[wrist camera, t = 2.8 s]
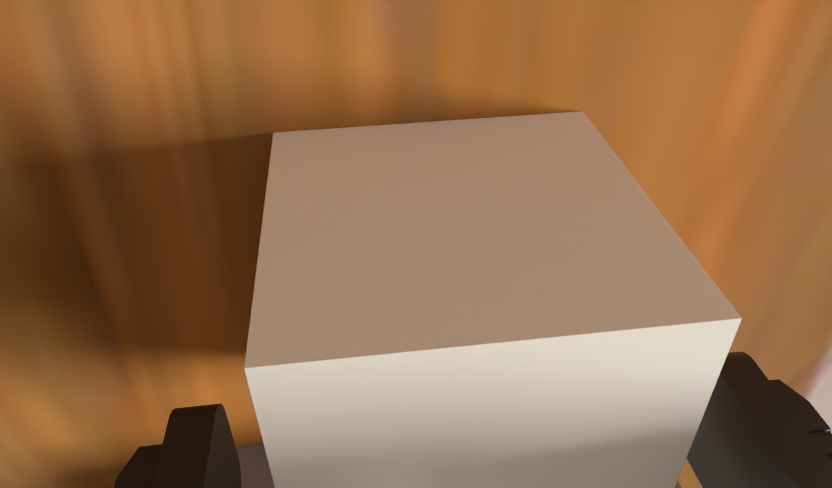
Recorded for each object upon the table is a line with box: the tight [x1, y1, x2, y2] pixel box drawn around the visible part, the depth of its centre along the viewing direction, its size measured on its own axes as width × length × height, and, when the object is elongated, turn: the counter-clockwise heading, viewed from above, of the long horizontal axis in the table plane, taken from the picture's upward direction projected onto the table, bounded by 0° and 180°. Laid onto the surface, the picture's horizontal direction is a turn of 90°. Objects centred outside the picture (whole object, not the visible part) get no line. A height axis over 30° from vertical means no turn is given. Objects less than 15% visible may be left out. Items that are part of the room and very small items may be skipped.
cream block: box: [244, 111, 742, 488], centre depth 12 cm, size 6×6×6 cm
